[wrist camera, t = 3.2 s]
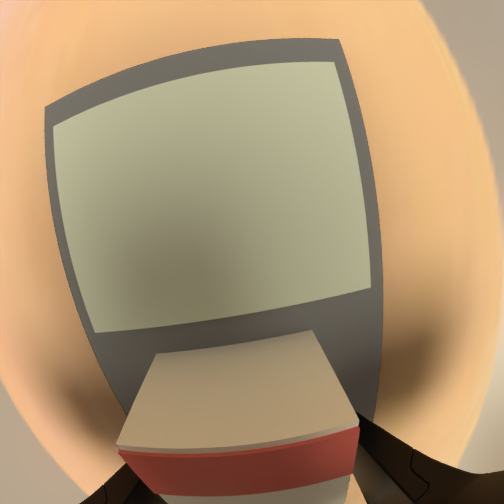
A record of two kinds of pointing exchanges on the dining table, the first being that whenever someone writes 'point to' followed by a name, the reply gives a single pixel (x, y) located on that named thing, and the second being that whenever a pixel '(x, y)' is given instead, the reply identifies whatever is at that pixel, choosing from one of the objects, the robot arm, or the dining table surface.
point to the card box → (243, 425)
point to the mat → (220, 209)
